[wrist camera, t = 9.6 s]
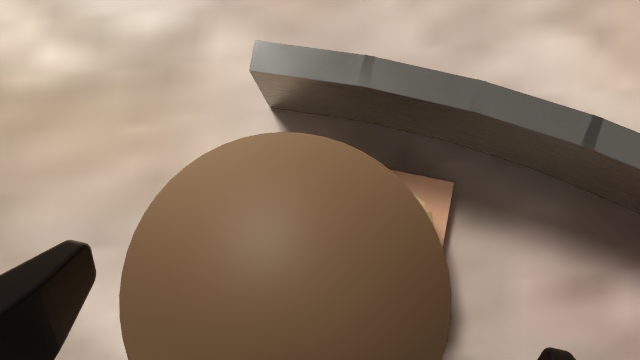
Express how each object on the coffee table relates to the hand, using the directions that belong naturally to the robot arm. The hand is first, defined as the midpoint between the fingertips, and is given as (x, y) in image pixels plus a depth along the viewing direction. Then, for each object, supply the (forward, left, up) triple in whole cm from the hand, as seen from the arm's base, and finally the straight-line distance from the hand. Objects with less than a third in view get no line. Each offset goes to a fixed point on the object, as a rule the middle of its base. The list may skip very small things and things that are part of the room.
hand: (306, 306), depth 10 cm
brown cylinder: (+1, 0, -8) cm, 9 cm away
